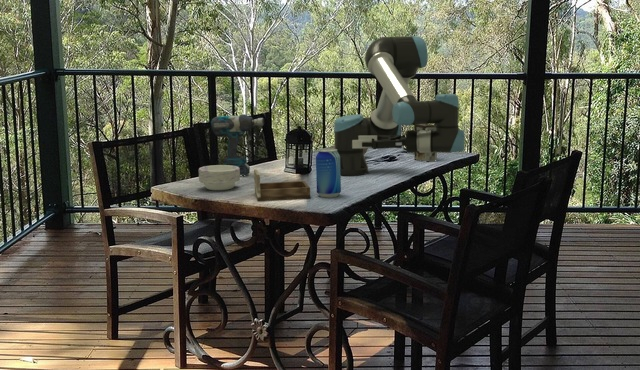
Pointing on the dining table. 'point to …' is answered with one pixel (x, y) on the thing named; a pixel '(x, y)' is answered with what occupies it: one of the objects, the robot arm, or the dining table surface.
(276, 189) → the open wooden box
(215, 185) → the paper bowls
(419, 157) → the coffee box
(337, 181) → the beer can
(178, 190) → the dining table surface
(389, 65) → the robot arm
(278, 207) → the dining table surface
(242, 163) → the cordless power drill
